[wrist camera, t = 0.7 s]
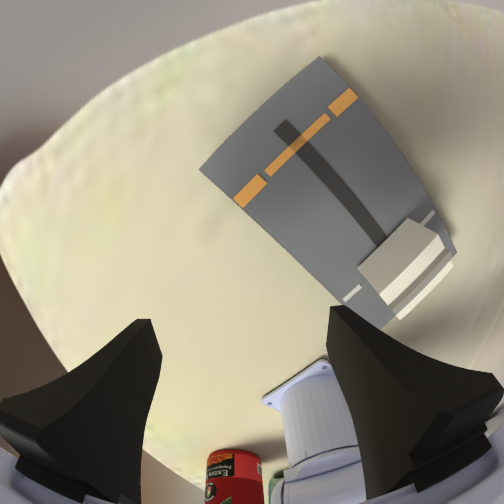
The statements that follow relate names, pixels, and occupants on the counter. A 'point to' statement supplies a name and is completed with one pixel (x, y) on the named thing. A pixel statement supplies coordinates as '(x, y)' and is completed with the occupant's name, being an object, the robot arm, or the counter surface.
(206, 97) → the counter surface
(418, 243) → the fader knob
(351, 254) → the fader console
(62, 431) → the robot arm
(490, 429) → the serving bowl
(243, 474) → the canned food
